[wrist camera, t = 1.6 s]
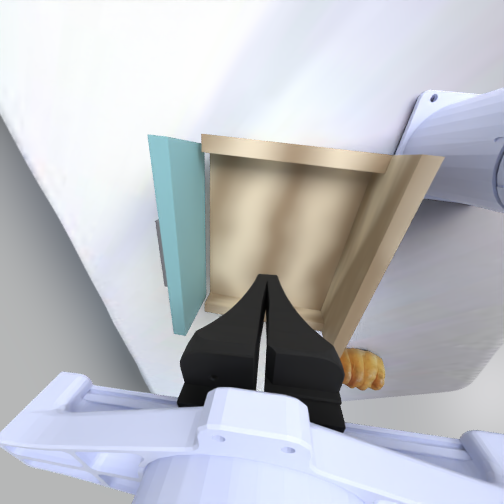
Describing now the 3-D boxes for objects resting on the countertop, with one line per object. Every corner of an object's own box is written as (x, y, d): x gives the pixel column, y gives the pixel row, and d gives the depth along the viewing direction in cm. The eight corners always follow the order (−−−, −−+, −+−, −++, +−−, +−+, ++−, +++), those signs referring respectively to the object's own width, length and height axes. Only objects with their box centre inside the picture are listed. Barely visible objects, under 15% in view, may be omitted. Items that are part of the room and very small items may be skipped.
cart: (375, 157, 18) (445, 156, 10) (322, 301, 26) (340, 358, 18) (220, 140, 18) (183, 127, 11) (217, 284, 27) (194, 332, 19)
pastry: (312, 366, 33) (316, 390, 29) (319, 340, 30) (325, 364, 26) (368, 374, 32) (379, 399, 28) (381, 348, 29) (396, 373, 25)
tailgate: (204, 144, 16) (167, 136, 11) (206, 295, 24) (185, 335, 18) (183, 141, 16) (137, 133, 11) (192, 293, 24) (168, 332, 18)
